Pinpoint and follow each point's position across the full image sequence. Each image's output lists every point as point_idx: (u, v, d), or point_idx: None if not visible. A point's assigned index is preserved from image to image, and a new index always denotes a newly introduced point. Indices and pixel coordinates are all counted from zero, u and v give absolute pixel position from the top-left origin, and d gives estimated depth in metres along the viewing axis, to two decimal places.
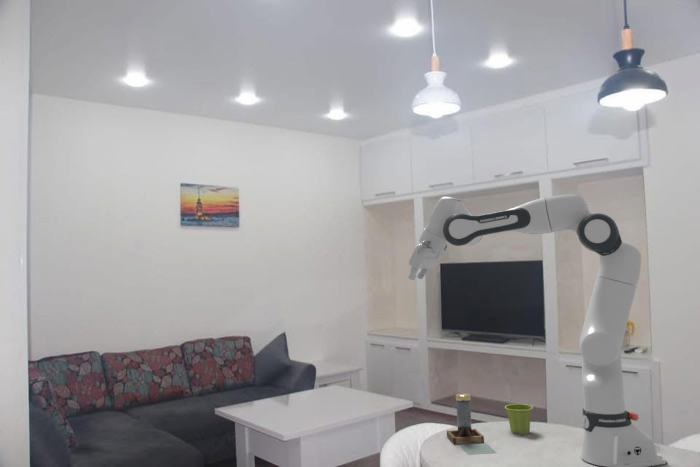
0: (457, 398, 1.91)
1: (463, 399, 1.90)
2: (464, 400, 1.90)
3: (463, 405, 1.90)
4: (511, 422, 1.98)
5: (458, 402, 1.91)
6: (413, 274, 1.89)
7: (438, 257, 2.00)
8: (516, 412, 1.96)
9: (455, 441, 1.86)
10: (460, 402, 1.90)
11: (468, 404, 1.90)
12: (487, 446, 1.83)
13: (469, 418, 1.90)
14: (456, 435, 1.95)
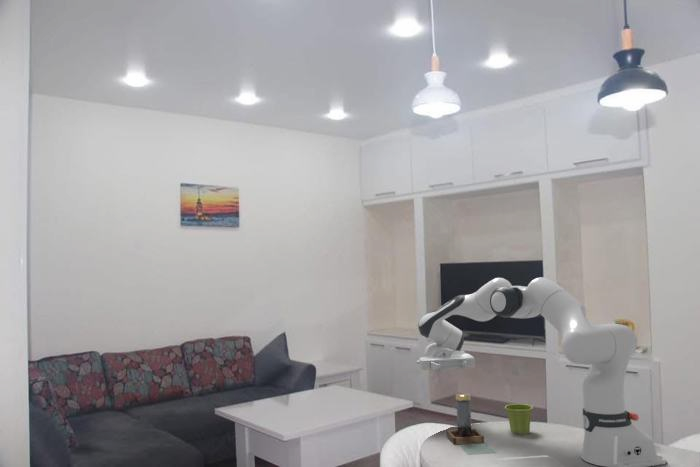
0: (457, 398, 1.91)
1: (463, 399, 1.90)
2: (464, 400, 1.90)
3: (463, 405, 1.90)
4: (511, 422, 1.98)
5: (458, 402, 1.91)
6: (434, 365, 2.06)
7: (466, 355, 2.14)
8: (516, 412, 1.96)
9: (455, 441, 1.86)
10: (460, 402, 1.90)
11: (468, 404, 1.90)
12: (487, 446, 1.83)
13: (469, 418, 1.90)
14: (456, 435, 1.95)
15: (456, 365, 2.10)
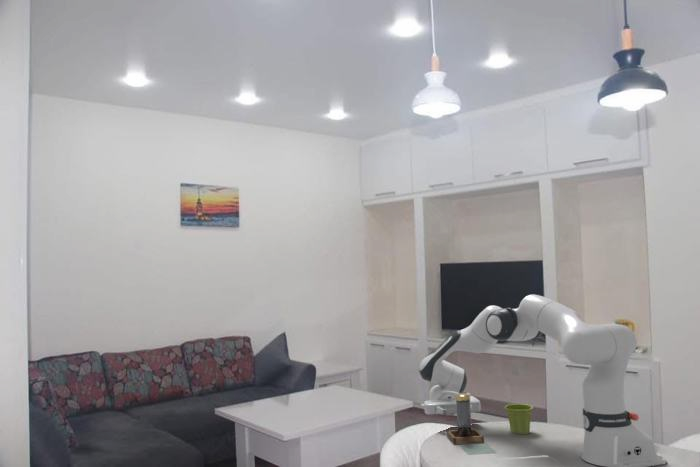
0: (457, 398, 1.91)
1: (462, 399, 1.90)
2: (464, 400, 1.90)
3: (463, 405, 1.90)
4: (511, 422, 1.98)
5: (458, 402, 1.91)
6: (440, 410, 2.02)
7: (472, 398, 2.11)
8: (516, 412, 1.96)
9: (455, 441, 1.86)
10: (460, 402, 1.90)
11: (468, 404, 1.90)
12: (487, 446, 1.83)
13: (469, 418, 1.90)
14: (456, 435, 1.95)
15: None
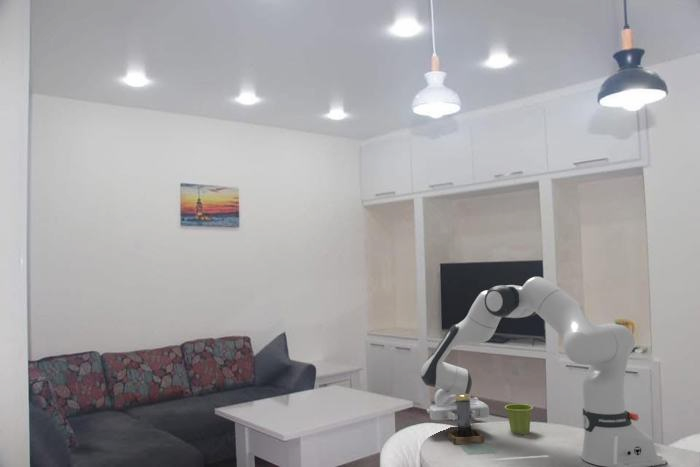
0: (457, 398, 1.91)
1: (463, 399, 1.90)
2: (464, 400, 1.90)
3: (463, 405, 1.90)
4: (511, 422, 1.98)
5: (458, 402, 1.91)
6: (451, 415, 1.92)
7: (480, 403, 2.01)
8: (516, 412, 1.96)
9: (455, 441, 1.86)
10: (460, 402, 1.90)
11: (468, 404, 1.90)
12: (487, 446, 1.83)
13: (469, 418, 1.90)
14: (456, 435, 1.95)
15: None
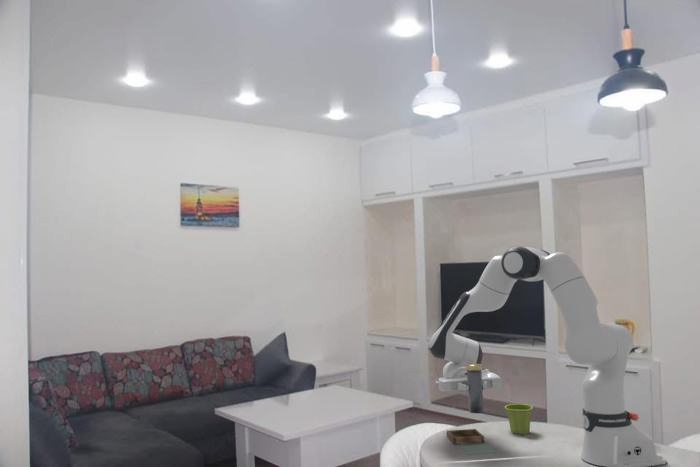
0: (468, 368, 1.81)
1: (474, 369, 1.80)
2: (475, 370, 1.80)
3: (474, 375, 1.80)
4: (511, 422, 1.98)
5: (469, 372, 1.81)
6: (462, 386, 1.82)
7: (491, 374, 1.91)
8: (516, 412, 1.96)
9: (455, 441, 1.86)
10: (471, 372, 1.80)
11: (479, 374, 1.80)
12: (487, 446, 1.83)
13: (481, 389, 1.80)
14: (456, 435, 1.95)
15: None
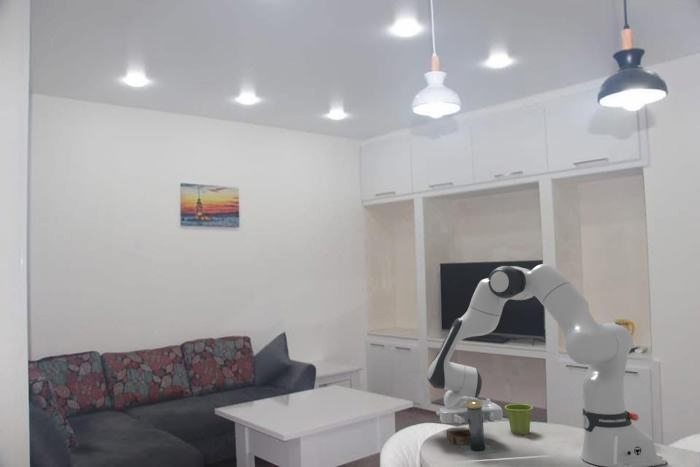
0: (468, 406, 1.80)
1: (474, 407, 1.79)
2: (475, 408, 1.79)
3: (474, 413, 1.79)
4: (511, 422, 1.98)
5: (469, 410, 1.80)
6: (457, 418, 1.82)
7: (492, 405, 1.90)
8: (516, 412, 1.96)
9: (455, 441, 1.86)
10: (471, 410, 1.79)
11: (480, 412, 1.79)
12: (487, 446, 1.83)
13: (481, 427, 1.79)
14: (456, 435, 1.95)
15: None
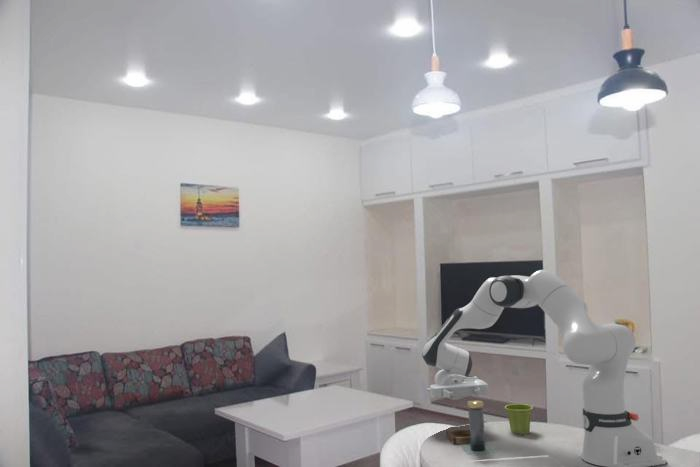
0: (469, 405, 1.80)
1: (475, 407, 1.79)
2: (477, 408, 1.79)
3: (475, 413, 1.79)
4: (511, 422, 1.98)
5: (470, 410, 1.80)
6: (446, 393, 1.96)
7: (479, 381, 2.04)
8: (516, 412, 1.96)
9: (455, 441, 1.86)
10: (472, 410, 1.79)
11: (481, 412, 1.79)
12: (487, 446, 1.83)
13: (482, 427, 1.79)
14: (456, 435, 1.95)
15: (469, 392, 2.00)
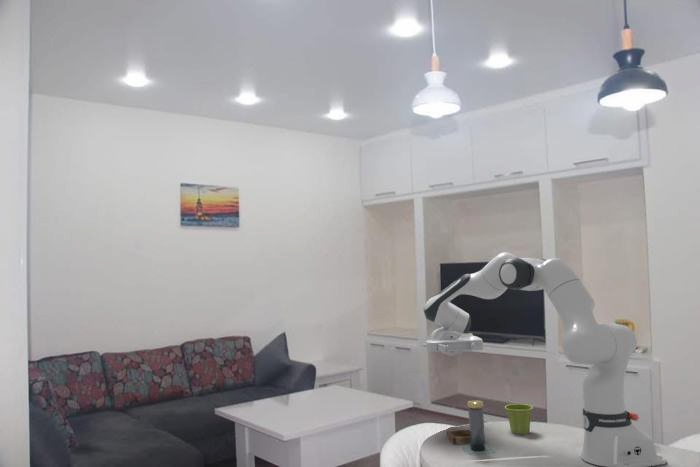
0: (469, 405, 1.80)
1: (475, 406, 1.79)
2: (477, 408, 1.79)
3: (475, 413, 1.79)
4: (511, 422, 1.98)
5: (470, 410, 1.80)
6: (442, 346, 2.00)
7: (474, 337, 2.08)
8: (516, 412, 1.96)
9: (455, 441, 1.86)
10: (472, 410, 1.79)
11: (481, 412, 1.79)
12: (487, 446, 1.83)
13: (482, 427, 1.79)
14: (456, 435, 1.95)
15: (464, 347, 2.04)
